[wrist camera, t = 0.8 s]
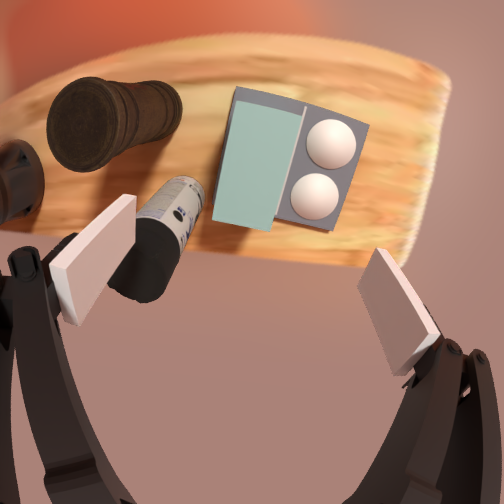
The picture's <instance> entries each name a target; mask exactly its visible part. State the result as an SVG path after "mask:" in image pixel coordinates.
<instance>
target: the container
mask: <svg viewBox="0 0 504 504" xmlns="http://www.w3.org/2000/svg"><path fill="white" fill-rule="evenodd" d="M182 110H183V109H182V102H181V99H180V96H179V95H178V93H177V92H176V90H175V89H174V88H172V87H171V86H170V85H168V84H166V83H164V82H161V81H154V80H153V81H143V82H138V83H123V82H116V81H106V80H104V79H101V78H98V77H84V78H80V79H77V80H75V81H73V82H71V83H70V84H68V85H67V86H66V87H64V88H63V89H62V90H61V91H60V93H59V94H58V95H57V96H56V98H55V99H54V101H53V103H52V105H51V108H50V110H49V114H48V118H47V127H46V132H47V140H48V144H49V147H50V150H51V152H52V154H53V155H54V157H55V158H56V159H57V161H58V162H59V163H60V164H61V165H63V166H64V167H65V168H67V169H69V170H72V171H75V172H92V171H95V170H97V169H100V168H101V167H103V166H104V165H106V164H107V163H108V162H109V161H110V160H111V159H112V158H113V157H115V156H117V155H119V154H121V153H122V152H123V151H125V150H126V149H129V148H131V147H133V146H135V145H137V144H143V143H146V142H152V141H157V140H160V139H162V138H164V137H166V136H168V135H169V134H170V133H171V132H172V131H173V130H174V129H175V128H176V127H177V125H178V124H179V122H180V120H181V117H182Z"/></svg>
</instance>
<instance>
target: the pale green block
mask: <svg viewBox="0 0 504 504" xmlns="http://www.w3.org/2000/svg"><path fill="white" fill-rule="evenodd" d="M301 120H302V116H300V115H297V114H293V113H290V112H286V111H282V110H278V109H274V108H270V107H266V106H261V105H257V104H252V103H247V102H242V101H236V104H235V109H234V113H233V117H232V122H231V126H230V131H229V135H228V140H227V144H226V149H225V154H224V159H223V164H222V169H221V174H220V179H219V184H218V189H217V194H216V199H215V205H214V210H213V216H212V220H215V221H220V222H225V223H230V224H234V225H239V226H244V227H249V228H254V229H259V230H263V231H268V232H270V230H271V226H272V223H273V219H274V216H275V212H276V209H277V205H278V202H279V198H280V195H281V191H282V188H283V184H284V181H285V177H286V174H287V170H288V167H289V163H290V159H291V156H292V152H293V149H294V145H295V141H296V138H297V134H298V131H299V127H300V123H301Z"/></svg>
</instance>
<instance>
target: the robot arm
mask: <svg viewBox="0 0 504 504" xmlns="http://www.w3.org/2000/svg"><path fill="white" fill-rule="evenodd" d="M43 193H44V174H43V169H42V165H41V162H40V160H39V157H38V155H37V153H36V152H35V150H34V149H33V148H32V146H31V145H29V144H28V143H27V142H25V141H23V140H14V141H11V142H8V143H6V144H4V145H3V146H1V147H0V225H1V224H3V223H4V222H7V221H11V220H15V219H20V218H24V217H26V216H28V215H29V214H31V213H32V212H34V211H35V210H36V209H37V208H38V206H39V205H40V203H41V201H42V198H43ZM136 199H137V196H134V195H128V194H123V195H122V196H120V197H119V198H118V199H117V200H116V201H114V202H113V203H112V204H111V205H110V206H109V207H108V208H106V209H105V210H104V211H103V212H102V213H101V214H100V215H98V216H97V217H96V218H95V219H94V220H93V221H92V222H91V223H90V224H89V225H88V226H87V227H85V228H84V229H83V230H82V231H81V232H80V233H73V234H71V235H69V236H67V237H65V238H64V239H63V240H62V241H61V242H60V243H59V245H57V246H56V247H55V248H54V250H52V251H51V252H50V253H49V254H48V255H47V256H46V257H45V258H44V259H43V260H42V261H41V260H40V256H39V252H38V249H36V248H35V247H31V246H25V247H21V248H18V249H17V250H15V251H13V252H12V253H11V254H10V255H9V257H8V260H7V261H8V264H9V268H10V271H11V275H12V276H2V274H1V270H0V504H20V497H19V491H18V484H17V479H16V473H15V466H14V458H13V449H12V438H11V381H12V369H13V368H12V367H13V359H14V349H15V350H16V358H17V366H18V372H19V378H20V384H21V389H22V394H23V399H24V403H25V407H26V411H27V415H28V419H29V423H30V426H31V430H32V433H33V436H34V439H35V443H36V446H37V449H38V451H39V454H40V457H41V460H42V462H43V465H44V468H45V473H46V474H45V476H44V485H45V488H46V491H47V493H48V496H49V498H50V500H51V502H52V504H137V503H136V502H135V501H134V499H133V498H132V496H131V495H130V493H129V492H128V490H127V489H126V488H125V487H124V485H123V484H122V482H121V481H120V480H119V478H118V476H117V475H116V473H115V471H114V470H113V468H112V466H111V464H110V463H109V461H108V459H107V457H106V455H105V453H104V451H103V449H102V447H101V445H100V443H99V441H98V439H97V437H96V435H95V432H94V430H93V428H92V426H91V424H90V421H89V419H88V416H87V414H86V412H85V409H84V407H83V404H82V401H81V399H80V396H79V393H78V390H77V388H76V385H75V382H74V379H73V376H72V373H71V369H70V366H69V363H68V360H67V356H66V352H65V349H64V345H63V341H62V337H61V333H60V328H59V324H58V321H57V316H58V315H59V313H60V312H62V316H63V319H64V321H65V322H68V323H70V324H73V325H76V326H79V327H80V325H81V324H82V322H83V320H84V318H85V317H86V315H87V314H88V312H89V310H90V309H91V307H92V305H93V304H94V302H95V301H96V299H97V297H98V296H99V294H100V292H101V291H102V290H103V288H104V287H105V285H106V283H107V282H108V280H109V279H110V277H111V276H112V274H113V273H114V271H115V270H116V269H117V267H118V266H119V264H120V263H121V261H122V260H123V258H124V257H125V256H126V254H127V253H128V251H129V250H130V249H131V247H132V246H133V244H134V243H135V225H136ZM357 287H358V289H359V292H360V294H361V296H362V298H363V301H364V303H365V305H366V308H367V310H368V312H369V315H370V317H371V319H372V322H373V324H374V327H375V329H376V332H377V334H378V337H379V339H380V341H381V344H382V347H383V349H384V352H385V355H386V357H387V360H388V363H389V365H390V368H391V371H392V374H393V376H403V375H406V374H407V373H408V372H409V371H410V370H411V369H412V368H413V367H414V370H415V374H414V375H413V376H412V377H411V378H410V379H409V380H408V381H407V382H406V383H405V384H404V385H403V386H402V388H404V387H405V386H408V387H407V389H406V392H405V395H404V398H403V400H402V403H401V405H400V408H399V410H398V412H397V415H396V417H395V419H394V422H393V424H392V426H391V428H390V430H389V432H388V434H387V436H386V439H385V440H384V443H383V444H382V446H381V448H380V450H379V452H378V454H377V456H376V458H375V459H374V461H373V463H372V465H371V467H370V468H369V470H368V472H367V474H366V475H365V477H364V479H363V480H362V482H361V483H360V485H359V487H358V488H357V490H356V491H355V492H354V494H353V495H352V496H350V497H349V498H348V499H347V500H345V501H344V502H343V503H342V504H499V503H500V493H501V475H502V473H501V472H502V451H501V434H500V422H499V413H498V406H497V399H496V393H495V387H494V382H493V377H492V372H491V368H490V364H489V361H488V358H487V357H486V354H484V352H483V351H481V350H478V349H474V350H473V351H472V352H471V353H470V355H469V356H468V355H465V354H463V352H462V350H461V348H460V346H459V345H458V344H457V343H456V342H455V341H453V340H451V339H448V338H447V339H445V338H444V336H443V335H442V333H441V331H440V330H439V328H438V326H437V324H436V322H435V321H433V317H432V316H431V315H430V312H429V311H428V309H427V307H426V306H425V305H424V304H423V303H422V302H421V300H420V299H419V297H418V296H417V294H416V292H415V291H414V289H413V288H412V286H411V285H410V283H409V282H408V280H407V279H406V277H405V276H404V274H403V273H402V271H401V270H400V268H399V267H398V265H397V264H396V263H395V261H394V260H393V258H392V257H391V255H390V254H389V253H388V251H387V250H384V249H381V248H377V247H376V249H375V251H374V253H373V255H372V257H371V259H370V261H369V263H368V265H367V267H366V269H365V271H364V273H363V275H362V277H361V279H360V281H359V283H358V285H357ZM469 387H470V389H471V390H470V393H469V394H467V395H466V396H465V397H463V393H464V392H465V391H466V390H467V389H468V388H469Z"/></svg>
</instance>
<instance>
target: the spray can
mask: <svg viewBox="0 0 504 504" xmlns="http://www.w3.org/2000/svg"><path fill="white" fill-rule="evenodd" d="M204 201H205V194H204V190H203V188H202V186H201V185H200V183H199V182H198V181H196V180H195V179H193V178H191V177H188V176H177V177H174V178H172V179H170V180H169V181H167V182H166V183H165V184H164V185H163V186H162V187H161V188H160V189H159V190H158V191H157V192H156V193H155V194H154V195H153V196H152V197H151V198H150V200H149V201H148V202H147V203H146V204H145V205H144V206H143V207H142V208H141V209H140V210H139V211H138V212H137V213H136V225H135V243H134V244H133V246H132V247H131V249H130V250H129V251H128V253H127V254H126V256H125V257H124V258H123V260H122V261H121V263H120V264H119V266H118V267H117V269H116V270H115V271H114V273H113V274H112V276H111V277H110V279H109V280H108V282H107V284H108V286H109V287H110V288H112V289H115V290H116V291H117V292H118V293H120V294H121V295H123V296H125V297H127V298H129V299H132V300H136V301H138V302H139V303H148V302H152V301H154V300H156V299H158V298H159V297H160V296H161V295H162V294H163V293H164V291H165V289H166V287H167V284H168V282H169V280H170V278H171V276H172V274H173V272H174V269H175V267H176V265H177V264H178V262H179V258H180V256H181V254H182V252H183V249H184V247H185V245H186V243H187V240H188V238H189V236H190V234H191V232H192V229H193V227H194V225H195V223H196V221H197V219H198V216H199V214H200V212H201V210H202V208H203V205H204Z"/></svg>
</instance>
